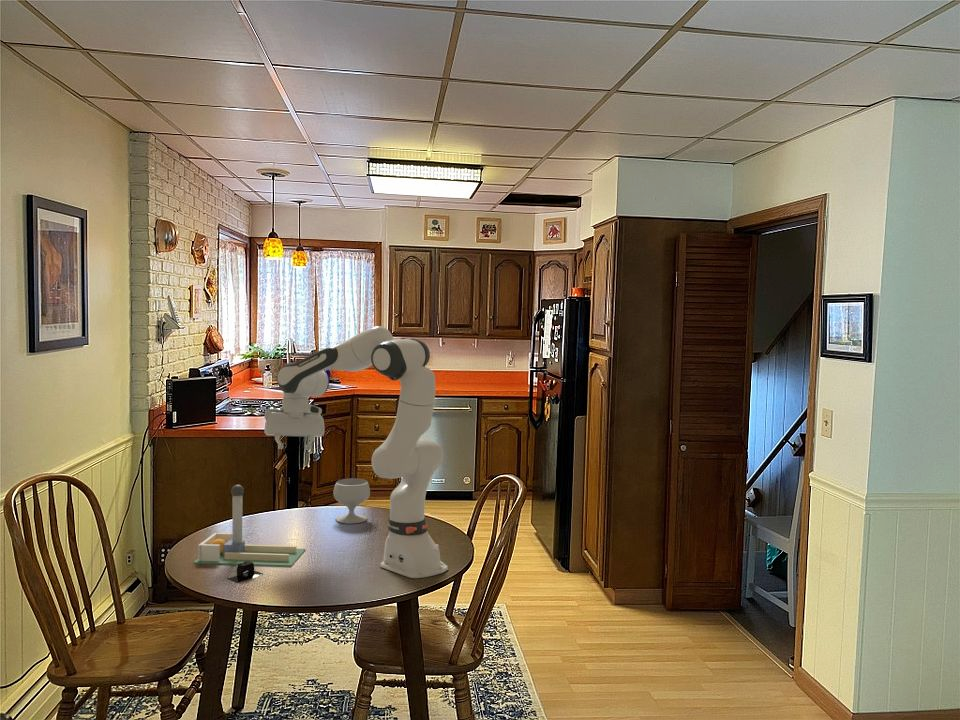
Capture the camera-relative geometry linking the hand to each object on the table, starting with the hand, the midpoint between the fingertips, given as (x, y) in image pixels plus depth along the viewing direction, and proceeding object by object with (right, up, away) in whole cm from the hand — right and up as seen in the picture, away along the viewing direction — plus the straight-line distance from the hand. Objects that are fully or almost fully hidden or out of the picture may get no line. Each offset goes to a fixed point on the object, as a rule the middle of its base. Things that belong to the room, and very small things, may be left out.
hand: (294, 449), depth 243 cm
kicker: (-16, -32, -13) cm, 38 cm away
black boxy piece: (-7, -35, -31) cm, 47 cm away
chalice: (+14, -32, +31) cm, 46 cm away
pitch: (-11, -33, -13) cm, 37 cm away
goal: (-11, -33, -13) cm, 37 cm away
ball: (-21, -30, -13) cm, 39 cm away
